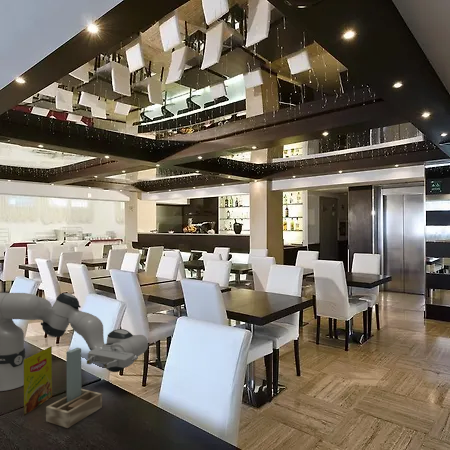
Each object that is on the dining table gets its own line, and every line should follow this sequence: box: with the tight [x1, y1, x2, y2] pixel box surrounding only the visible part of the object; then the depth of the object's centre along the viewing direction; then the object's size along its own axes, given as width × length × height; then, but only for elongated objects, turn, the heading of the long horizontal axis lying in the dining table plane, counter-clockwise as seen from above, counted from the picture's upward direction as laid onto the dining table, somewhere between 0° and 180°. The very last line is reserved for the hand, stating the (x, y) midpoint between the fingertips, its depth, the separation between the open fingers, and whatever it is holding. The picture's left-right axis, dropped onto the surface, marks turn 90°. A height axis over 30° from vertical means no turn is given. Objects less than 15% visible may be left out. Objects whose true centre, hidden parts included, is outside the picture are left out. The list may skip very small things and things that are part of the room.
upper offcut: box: [68, 399, 87, 411], centre depth 134 cm, size 3×6×2 cm, turn 159°
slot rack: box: [45, 388, 103, 429], centre depth 136 cm, size 10×16×5 cm, turn 155°
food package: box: [23, 346, 53, 416], centre depth 143 cm, size 15×1×20 cm, turn 168°
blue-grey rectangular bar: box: [66, 347, 82, 402], centre depth 139 cm, size 2×5×22 cm, turn 155°
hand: (96, 364), depth 149 cm, fingers open, 8 cm apart
